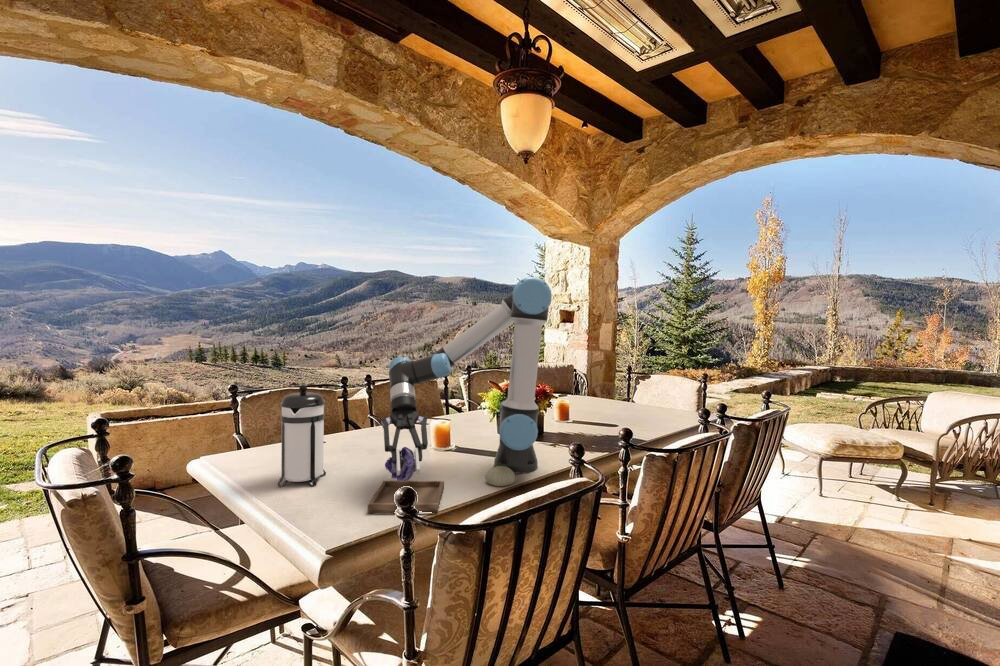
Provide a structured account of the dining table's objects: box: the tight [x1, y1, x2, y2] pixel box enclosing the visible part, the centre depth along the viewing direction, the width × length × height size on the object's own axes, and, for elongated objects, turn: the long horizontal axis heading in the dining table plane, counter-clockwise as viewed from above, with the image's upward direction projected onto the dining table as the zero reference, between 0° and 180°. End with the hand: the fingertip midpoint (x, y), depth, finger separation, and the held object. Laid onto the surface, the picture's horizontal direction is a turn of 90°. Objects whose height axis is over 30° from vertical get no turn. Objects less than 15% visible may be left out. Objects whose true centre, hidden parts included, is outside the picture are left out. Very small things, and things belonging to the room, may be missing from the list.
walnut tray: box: [367, 480, 445, 515], centre depth 128 cm, size 18×18×2 cm
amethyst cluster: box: [384, 446, 416, 482], centre depth 130 cm, size 9×9×10 cm
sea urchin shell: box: [484, 466, 516, 487], centre depth 143 cm, size 9×8×8 cm
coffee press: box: [277, 384, 327, 488], centre depth 143 cm, size 17×16×30 cm
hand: (408, 472), depth 124 cm, fingers closed on amethyst cluster, 4 cm apart
